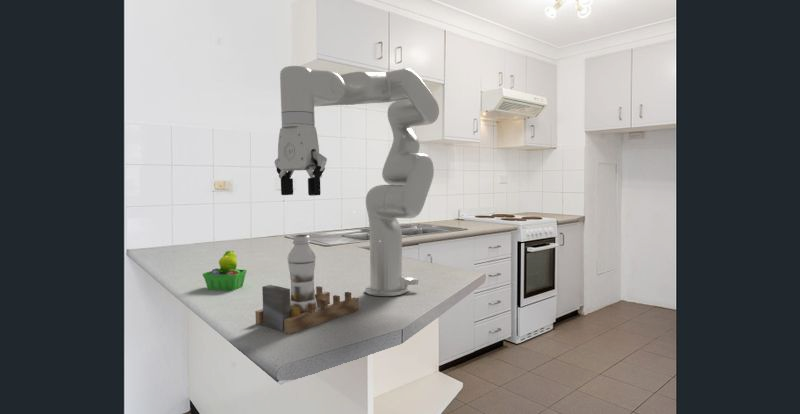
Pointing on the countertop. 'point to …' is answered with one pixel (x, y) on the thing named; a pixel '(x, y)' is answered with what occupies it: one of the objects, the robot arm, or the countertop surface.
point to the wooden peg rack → (289, 317)
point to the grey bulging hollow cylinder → (302, 273)
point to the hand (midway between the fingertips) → (300, 195)
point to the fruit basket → (225, 274)
